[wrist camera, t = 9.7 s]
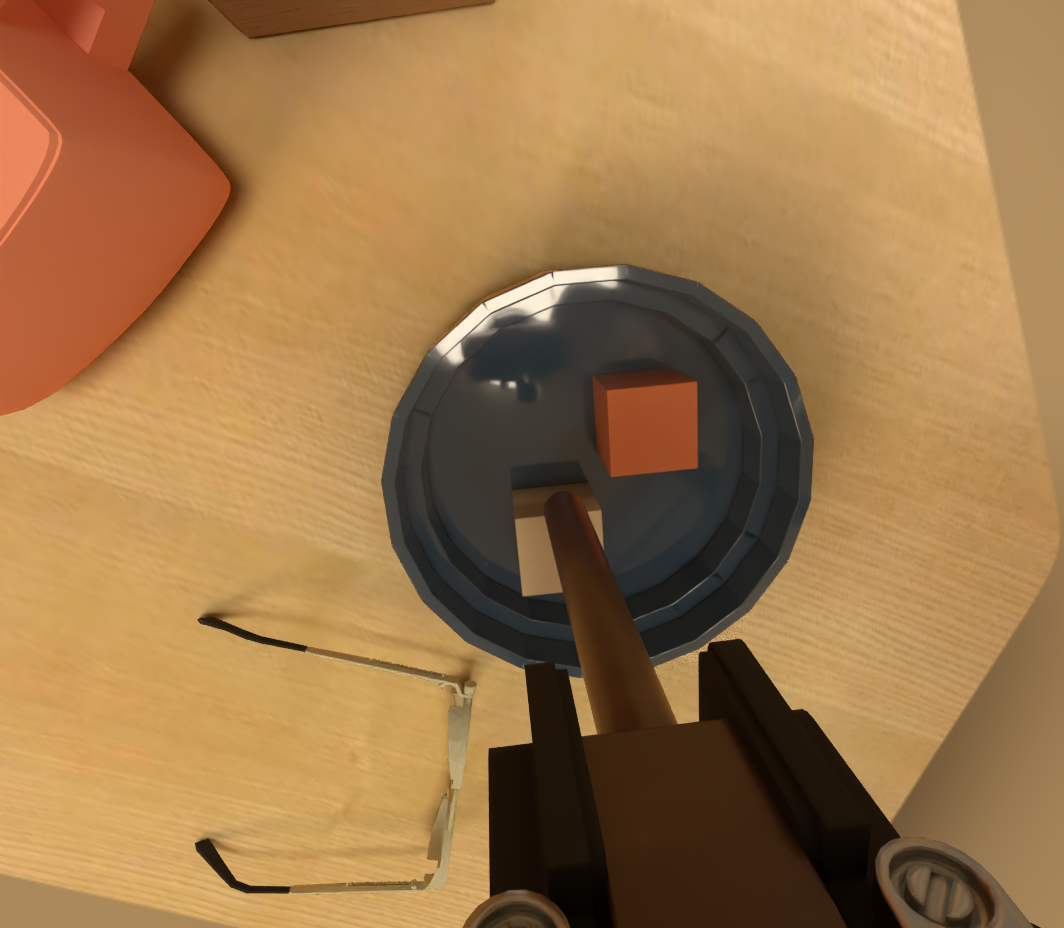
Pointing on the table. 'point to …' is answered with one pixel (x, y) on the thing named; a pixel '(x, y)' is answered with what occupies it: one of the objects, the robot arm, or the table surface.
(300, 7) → the decorative block
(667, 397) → the cube
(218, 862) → the eyeglasses
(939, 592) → the table surface
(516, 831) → the robot arm
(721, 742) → the stick
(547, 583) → the cube
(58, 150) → the teapot
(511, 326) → the bowl
